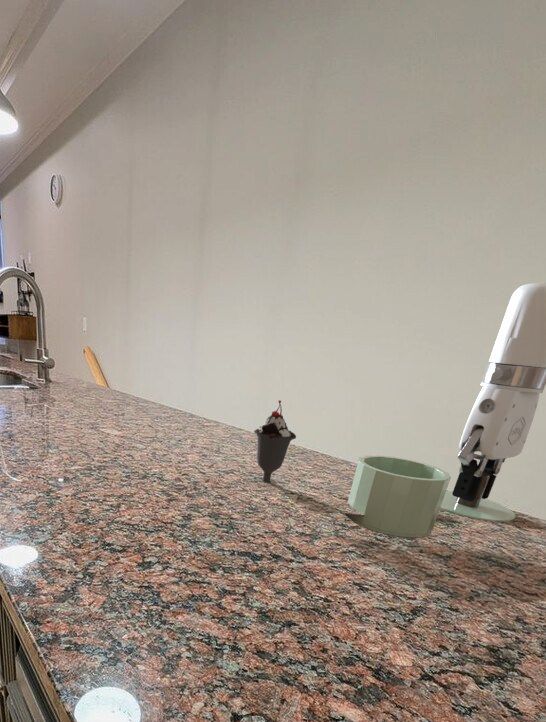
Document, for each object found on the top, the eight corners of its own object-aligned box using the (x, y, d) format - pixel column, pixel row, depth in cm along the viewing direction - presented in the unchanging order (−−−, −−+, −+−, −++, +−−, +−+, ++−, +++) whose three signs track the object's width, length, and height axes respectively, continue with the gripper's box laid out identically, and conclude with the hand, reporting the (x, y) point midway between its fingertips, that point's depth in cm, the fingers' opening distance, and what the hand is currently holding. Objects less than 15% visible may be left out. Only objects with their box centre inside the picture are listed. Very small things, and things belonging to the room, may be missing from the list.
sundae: (269, 483, 80) (285, 398, 74) (292, 497, 74) (311, 406, 68) (237, 485, 78) (251, 397, 72) (258, 499, 72) (275, 405, 66)
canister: (386, 503, 75) (401, 455, 72) (450, 534, 65) (470, 479, 61) (328, 507, 71) (341, 455, 68) (386, 540, 61) (404, 481, 57)
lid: (456, 494, 80) (469, 460, 78) (532, 524, 69) (549, 485, 67) (402, 497, 76) (413, 461, 73) (473, 529, 65) (489, 488, 62)
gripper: (515, 381, 58) (465, 512, 65) (569, 384, 66) (520, 500, 73) (456, 373, 64) (417, 494, 71) (513, 377, 72) (472, 485, 79)
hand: (469, 496), depth 72 cm, fingers closed on lid, 3 cm apart
